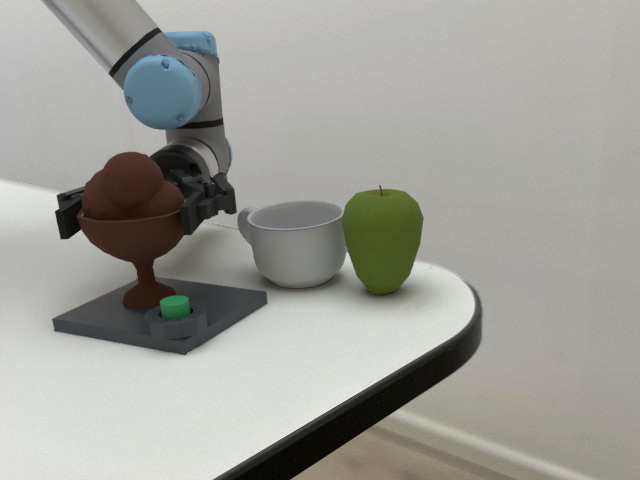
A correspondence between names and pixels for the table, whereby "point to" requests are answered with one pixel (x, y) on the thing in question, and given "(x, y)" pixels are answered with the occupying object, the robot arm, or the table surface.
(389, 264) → the apple
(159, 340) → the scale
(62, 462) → the table surface
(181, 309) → the button
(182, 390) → the table surface
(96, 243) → the ice cream bowl
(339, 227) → the teacup
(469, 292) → the table surface
